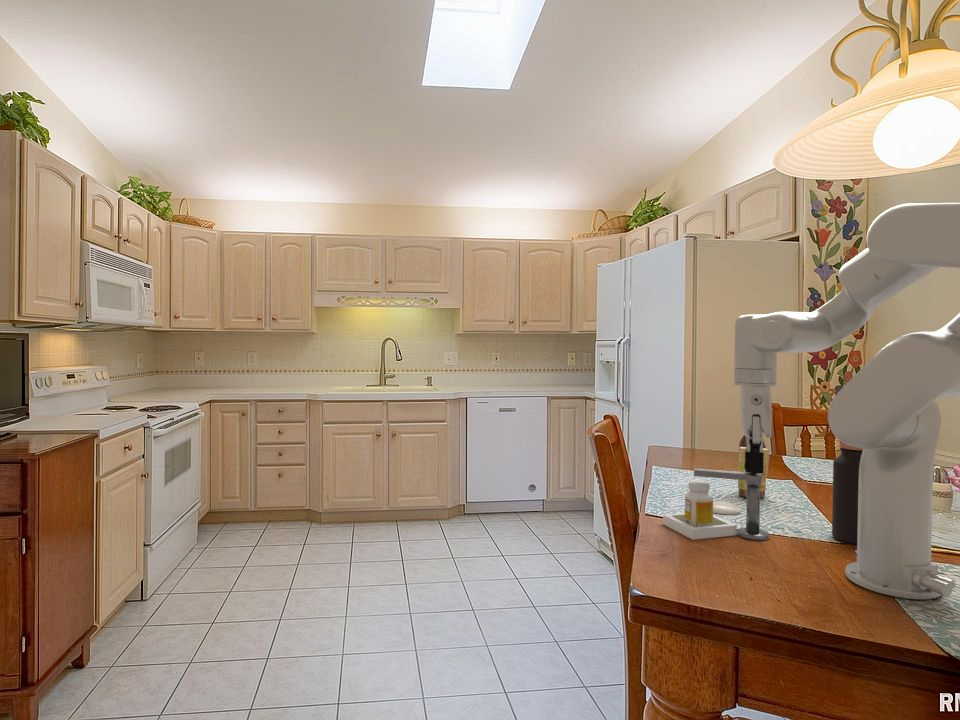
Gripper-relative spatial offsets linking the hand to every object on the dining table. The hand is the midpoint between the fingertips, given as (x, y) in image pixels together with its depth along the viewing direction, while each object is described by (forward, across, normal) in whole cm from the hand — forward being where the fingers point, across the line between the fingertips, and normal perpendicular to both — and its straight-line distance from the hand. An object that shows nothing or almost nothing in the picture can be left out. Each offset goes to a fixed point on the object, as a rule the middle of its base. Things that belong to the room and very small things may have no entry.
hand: (753, 470), depth 114 cm
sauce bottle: (+13, +33, -2) cm, 35 cm away
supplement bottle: (+13, 0, +10) cm, 17 cm away
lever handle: (+3, 0, +4) cm, 5 cm away
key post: (+13, 0, 0) cm, 13 cm away
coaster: (+13, +17, +5) cm, 22 cm away
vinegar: (+13, +5, -18) cm, 23 cm away
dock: (+13, 0, +10) cm, 16 cm away
